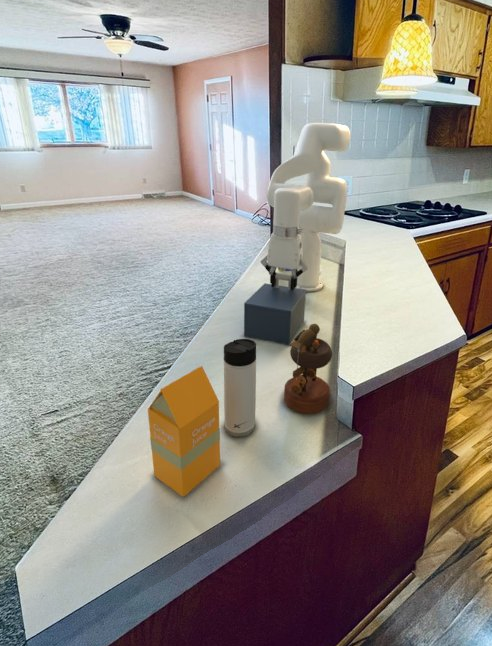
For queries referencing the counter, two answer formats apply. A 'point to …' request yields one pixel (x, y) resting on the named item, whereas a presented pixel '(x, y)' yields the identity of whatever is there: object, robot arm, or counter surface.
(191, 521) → the counter surface
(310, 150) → the robot arm
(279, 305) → the lid
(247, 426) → the travel mug
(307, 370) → the music box
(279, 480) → the counter surface
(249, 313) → the box
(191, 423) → the orange juice
